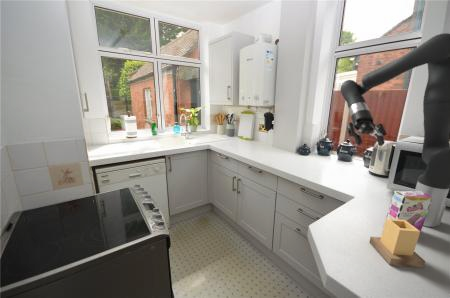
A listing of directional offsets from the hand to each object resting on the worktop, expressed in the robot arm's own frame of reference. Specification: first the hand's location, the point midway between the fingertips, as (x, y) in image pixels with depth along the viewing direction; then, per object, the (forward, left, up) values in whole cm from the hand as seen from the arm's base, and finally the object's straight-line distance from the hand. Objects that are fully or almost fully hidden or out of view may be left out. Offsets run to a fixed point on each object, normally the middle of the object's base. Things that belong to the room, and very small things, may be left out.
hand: (371, 144), depth 82 cm
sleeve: (+1, +25, -30) cm, 39 cm away
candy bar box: (-12, +11, -33) cm, 37 cm away
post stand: (+1, +25, -33) cm, 41 cm away
